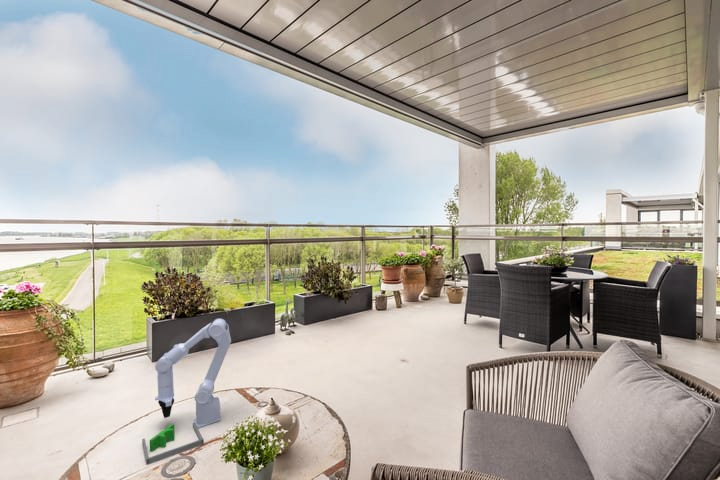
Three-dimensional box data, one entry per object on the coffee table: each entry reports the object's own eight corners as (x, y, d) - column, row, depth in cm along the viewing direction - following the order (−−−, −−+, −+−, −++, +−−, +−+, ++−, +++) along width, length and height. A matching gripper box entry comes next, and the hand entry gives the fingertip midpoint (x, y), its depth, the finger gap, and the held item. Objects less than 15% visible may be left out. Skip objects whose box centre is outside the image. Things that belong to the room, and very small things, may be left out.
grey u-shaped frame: (194, 426, 144) (194, 422, 144) (203, 444, 131) (203, 439, 131) (142, 443, 132) (142, 439, 132) (146, 464, 120) (146, 459, 120)
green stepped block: (158, 453, 127) (157, 441, 126) (149, 452, 127) (149, 440, 127) (180, 435, 138) (179, 424, 137) (172, 434, 138) (171, 423, 138)
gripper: (152, 382, 147) (153, 413, 147) (156, 393, 136) (158, 427, 136) (170, 377, 151) (172, 407, 152) (176, 388, 140) (177, 421, 140)
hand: (166, 416), depth 144 cm, fingers closed
